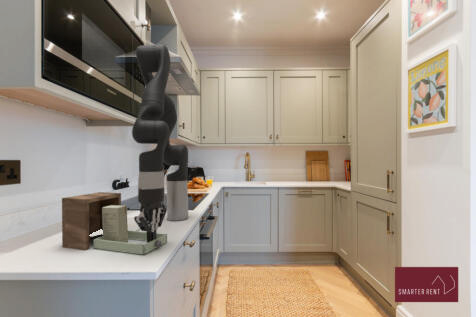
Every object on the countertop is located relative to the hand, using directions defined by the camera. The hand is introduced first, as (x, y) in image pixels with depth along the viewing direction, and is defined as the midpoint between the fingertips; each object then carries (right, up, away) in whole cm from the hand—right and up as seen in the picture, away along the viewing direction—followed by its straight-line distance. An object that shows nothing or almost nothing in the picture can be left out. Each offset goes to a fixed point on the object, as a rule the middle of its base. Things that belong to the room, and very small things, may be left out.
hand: (151, 243), depth 78 cm
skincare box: (-13, -2, +4) cm, 13 cm away
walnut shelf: (-22, -2, +7) cm, 23 cm away
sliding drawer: (-7, -1, +2) cm, 7 cm away
